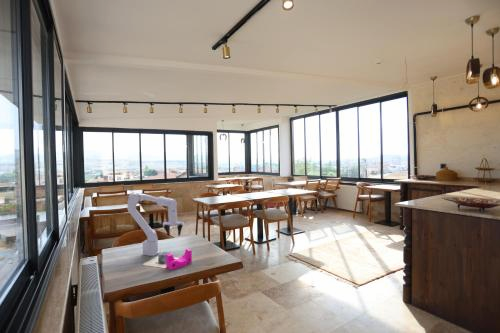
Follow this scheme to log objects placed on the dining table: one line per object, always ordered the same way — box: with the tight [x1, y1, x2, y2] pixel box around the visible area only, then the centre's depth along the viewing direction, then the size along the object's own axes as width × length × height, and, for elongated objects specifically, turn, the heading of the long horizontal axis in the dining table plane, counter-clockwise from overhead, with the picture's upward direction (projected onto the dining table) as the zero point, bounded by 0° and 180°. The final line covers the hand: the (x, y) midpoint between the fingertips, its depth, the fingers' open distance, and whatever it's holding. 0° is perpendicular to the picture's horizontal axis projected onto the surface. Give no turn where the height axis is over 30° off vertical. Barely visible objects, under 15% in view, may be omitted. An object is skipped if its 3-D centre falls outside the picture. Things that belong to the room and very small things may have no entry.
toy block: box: [166, 248, 193, 271], centre depth 167 cm, size 15×6×8 cm, turn 130°
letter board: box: [141, 255, 180, 269], centre depth 173 cm, size 17×16×1 cm
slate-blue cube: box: [157, 251, 170, 263], centre depth 173 cm, size 5×5×5 cm
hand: (174, 235), depth 194 cm, fingers open, 7 cm apart
